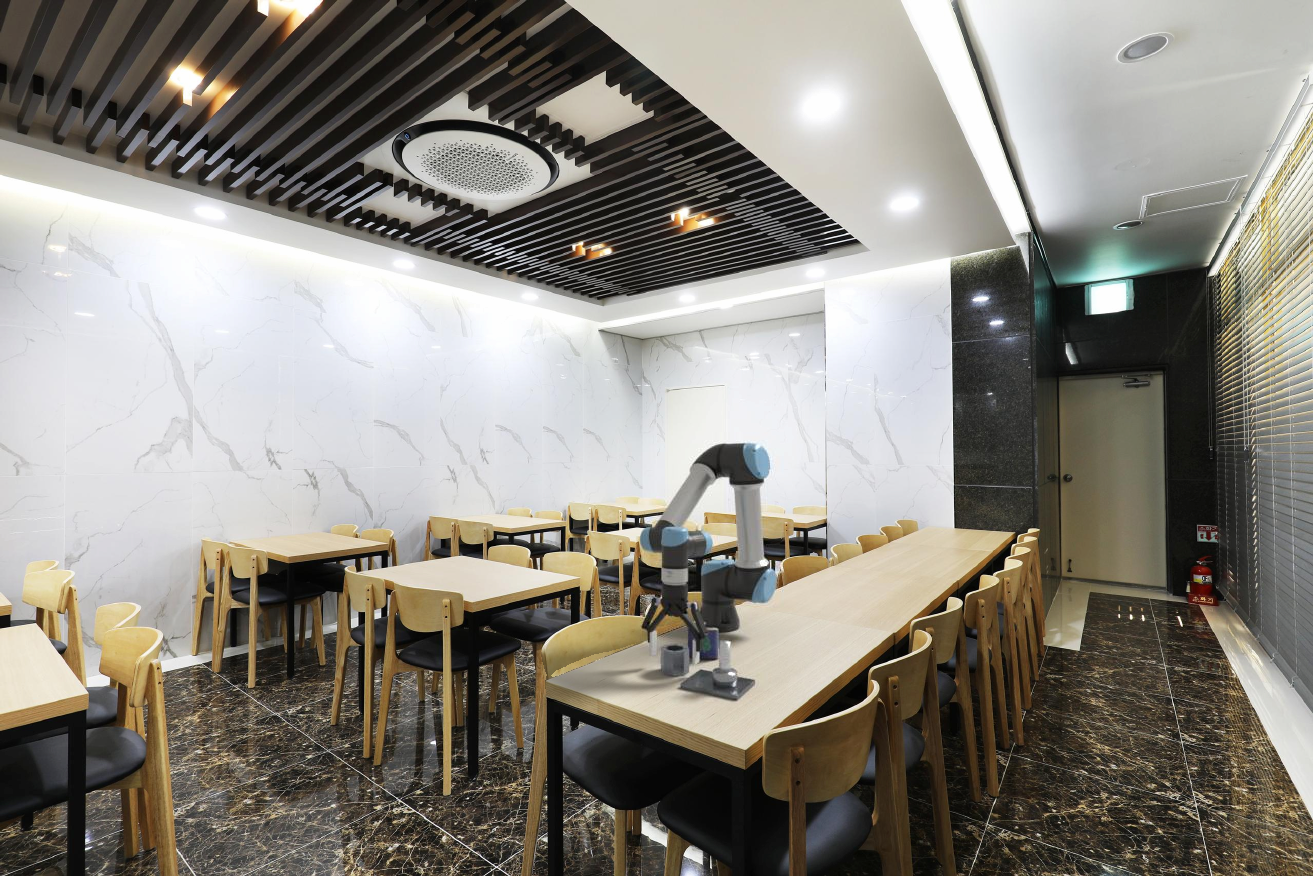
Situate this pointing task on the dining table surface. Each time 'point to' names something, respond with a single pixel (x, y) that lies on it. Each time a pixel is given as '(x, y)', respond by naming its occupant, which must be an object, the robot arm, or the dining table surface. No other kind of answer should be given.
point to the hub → (675, 660)
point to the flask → (706, 645)
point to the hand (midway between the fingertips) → (674, 659)
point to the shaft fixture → (720, 678)
